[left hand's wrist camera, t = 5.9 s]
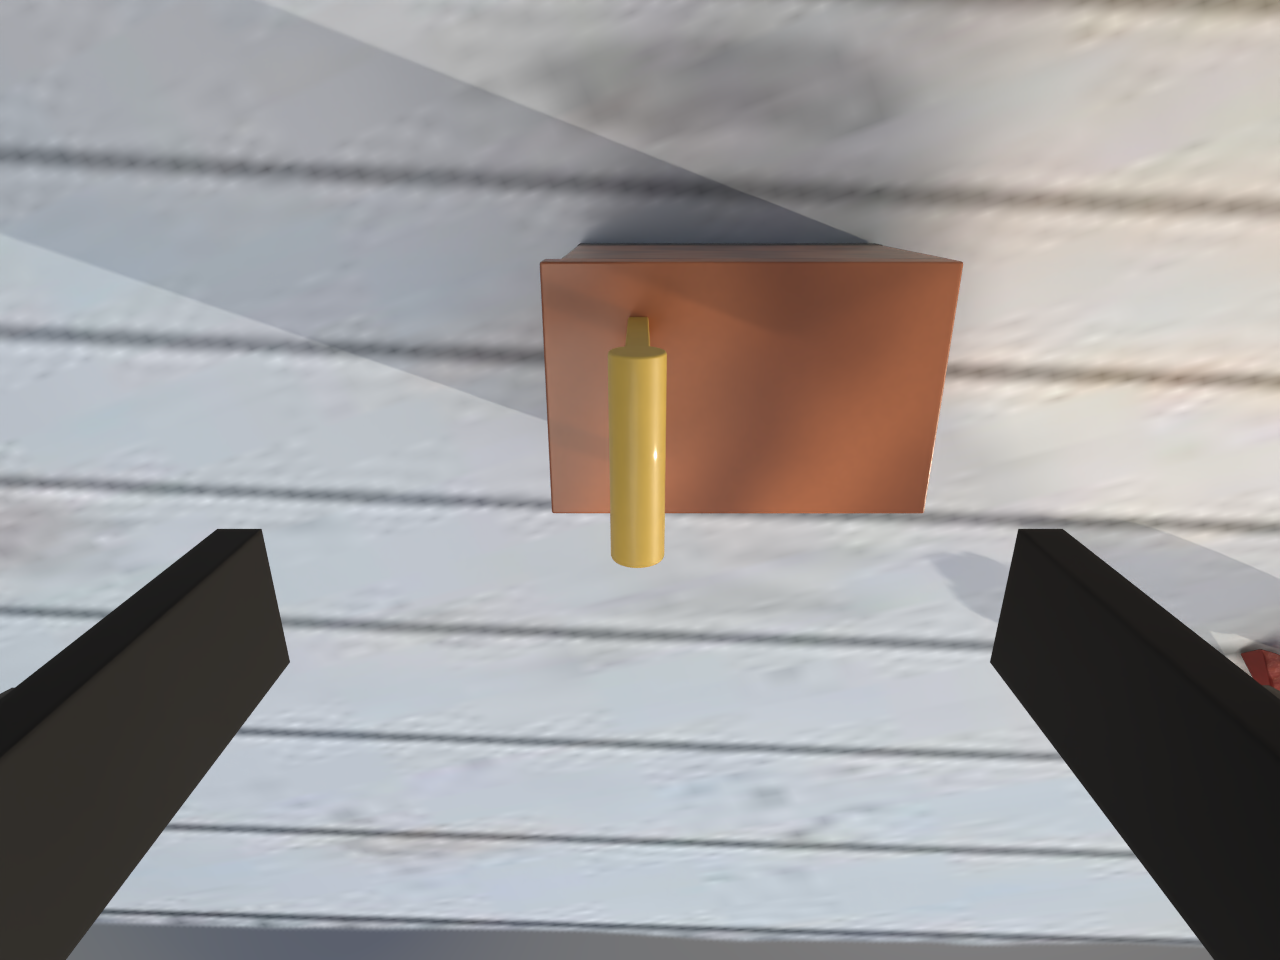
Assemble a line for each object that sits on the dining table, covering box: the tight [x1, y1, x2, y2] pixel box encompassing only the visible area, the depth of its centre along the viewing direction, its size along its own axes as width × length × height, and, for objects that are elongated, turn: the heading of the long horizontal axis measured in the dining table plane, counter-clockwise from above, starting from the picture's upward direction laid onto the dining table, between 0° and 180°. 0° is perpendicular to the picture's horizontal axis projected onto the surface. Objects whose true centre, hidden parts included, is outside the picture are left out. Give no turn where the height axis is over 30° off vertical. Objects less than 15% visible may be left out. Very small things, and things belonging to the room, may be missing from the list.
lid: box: [540, 259, 963, 568], centre depth 23 cm, size 14×9×8 cm, turn 90°
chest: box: [562, 244, 947, 259], centre depth 31 cm, size 14×9×9 cm
